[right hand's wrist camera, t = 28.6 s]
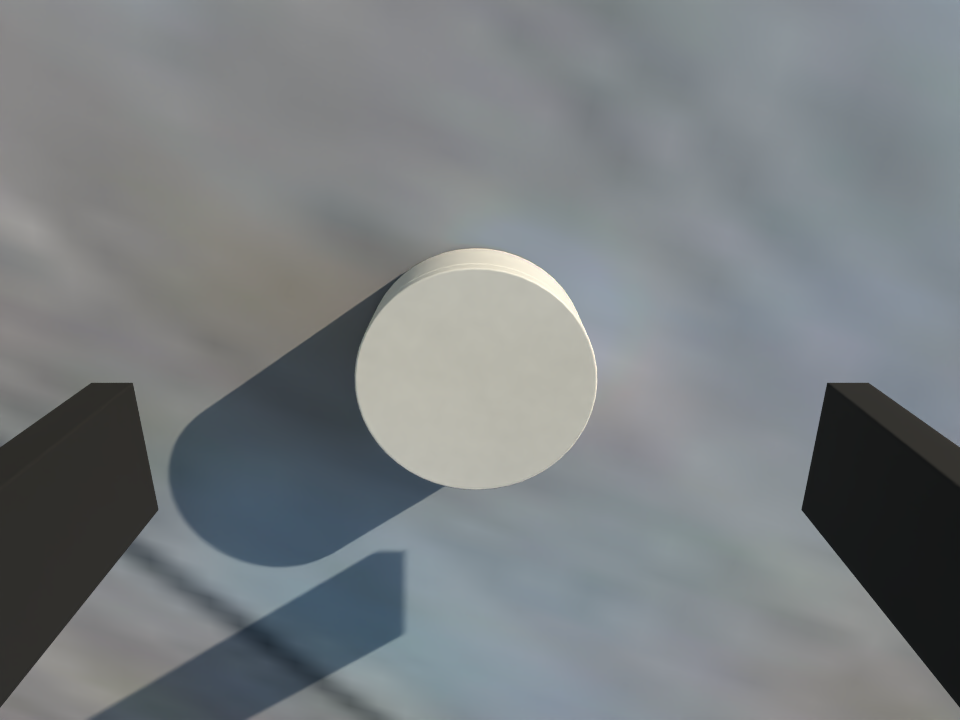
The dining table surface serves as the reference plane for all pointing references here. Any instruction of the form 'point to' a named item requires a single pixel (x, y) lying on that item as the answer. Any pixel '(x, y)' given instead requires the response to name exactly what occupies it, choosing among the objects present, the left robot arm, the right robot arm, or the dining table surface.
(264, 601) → the dining table surface
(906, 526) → the right robot arm
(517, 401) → the lid
